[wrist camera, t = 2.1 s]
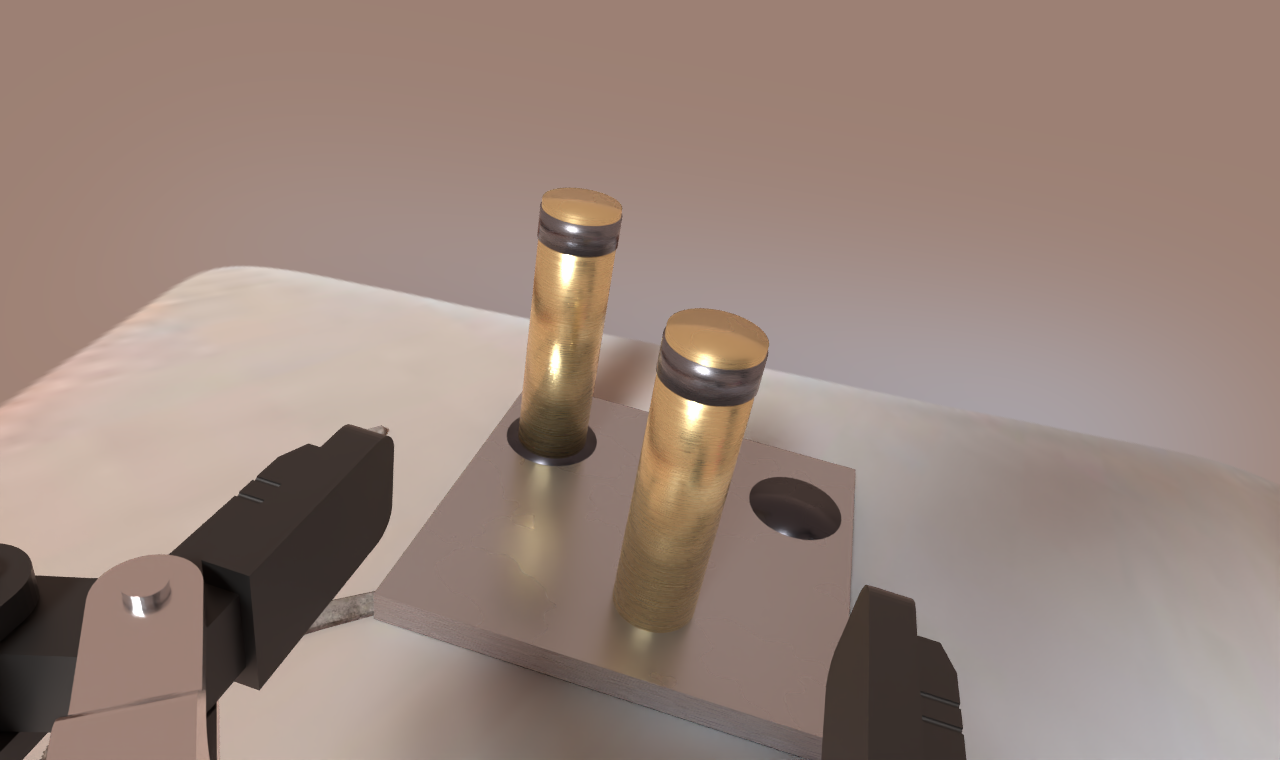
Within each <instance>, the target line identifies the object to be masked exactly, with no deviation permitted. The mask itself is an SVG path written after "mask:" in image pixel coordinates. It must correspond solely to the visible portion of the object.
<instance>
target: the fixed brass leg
mask: <svg viewBox="0 0 1280 760" xmlns="http://www.w3.org/2000/svg"><path fill="white" fill-rule="evenodd" d="M621 212H622V206H621V204H620V203H619V202H618V201H617V200H615V199H614V198H612V197H610V196H608V195H606V194H603V193H600V192H596V191H592V190H587V189H580V188H558V189H553V190H550V191H547V192H546V193H545V194H544V195H543V198H542V202H541V204H540V215H539V225H538V234H537V236H538V247H537V257H536V267H535V276H534V286H533V295H532V306H531V316H530V325H529V334H528V344H527V354H526V364H525V373H524V383H523V393H522V403H521V412H520V422H519V432H518V438H519V441H520V443H521V444H522V446H523V447H524V448H525V449H527V450H528V451H530V452H531V453H533V454H536V455H538V456H542V457H546V458H566V457H570V456H573V455H575V454H577V453H579V452H580V451H581V450H582V449H583V448H584V446H585V443H586V437H587V430H588V424H589V418H590V411H591V405H592V398H593V392H594V386H595V379H596V373H597V366H598V360H599V354H600V347H601V341H602V335H603V328H604V322H605V315H606V308H607V302H608V296H609V290H610V283H611V277H612V270H613V264H614V258H615V251H616V249H617V246H618V240H619V234H620V228H621V221H622V213H621Z"/></svg>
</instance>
